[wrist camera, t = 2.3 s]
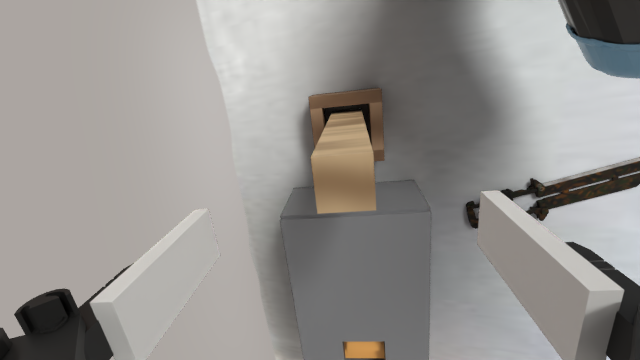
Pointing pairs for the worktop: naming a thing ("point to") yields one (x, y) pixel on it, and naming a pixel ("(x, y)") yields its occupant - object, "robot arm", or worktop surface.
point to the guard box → (361, 273)
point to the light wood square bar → (344, 165)
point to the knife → (573, 182)
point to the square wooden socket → (344, 99)
